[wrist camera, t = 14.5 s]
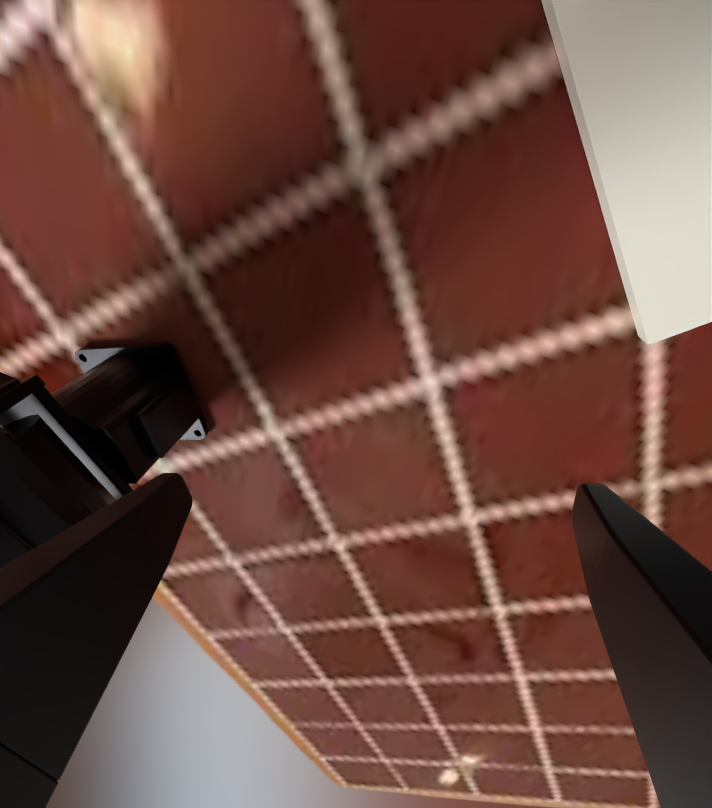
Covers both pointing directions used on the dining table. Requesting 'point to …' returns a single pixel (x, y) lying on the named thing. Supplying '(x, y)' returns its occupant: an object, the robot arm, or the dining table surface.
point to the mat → (647, 145)
